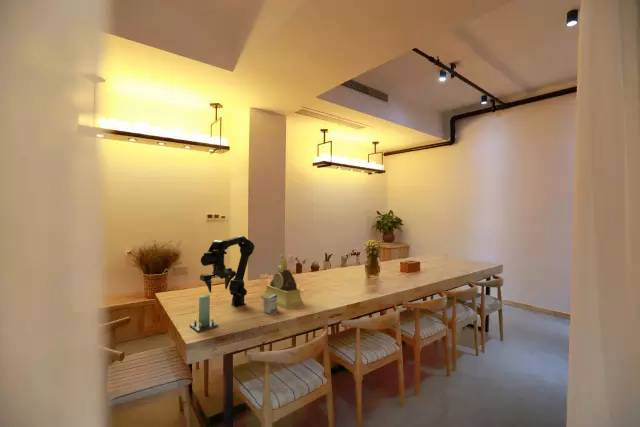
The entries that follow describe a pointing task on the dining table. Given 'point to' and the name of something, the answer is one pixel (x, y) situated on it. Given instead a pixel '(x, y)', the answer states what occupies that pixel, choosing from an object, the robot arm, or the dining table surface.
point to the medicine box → (270, 303)
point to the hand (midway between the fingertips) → (218, 290)
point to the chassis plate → (199, 328)
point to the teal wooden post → (204, 310)
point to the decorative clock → (284, 287)
